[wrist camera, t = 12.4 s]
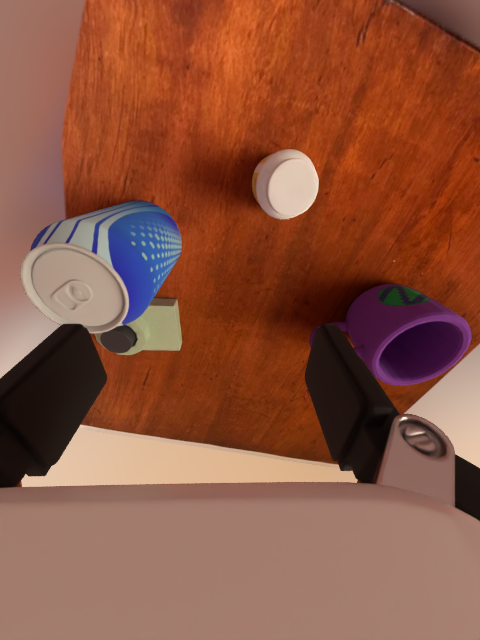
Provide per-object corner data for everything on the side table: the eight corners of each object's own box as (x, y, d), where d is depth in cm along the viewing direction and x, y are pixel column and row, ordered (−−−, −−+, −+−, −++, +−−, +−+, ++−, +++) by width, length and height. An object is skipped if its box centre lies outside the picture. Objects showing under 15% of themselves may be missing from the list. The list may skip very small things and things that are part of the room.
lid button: (110, 345, 33) (104, 353, 32) (102, 322, 31) (96, 329, 30) (138, 345, 33) (134, 353, 32) (132, 323, 31) (127, 330, 30)
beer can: (108, 194, 26) (-25, 217, 13) (183, 204, 27) (133, 236, 13) (120, 265, 30) (31, 338, 17) (184, 272, 31) (146, 347, 18)
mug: (423, 270, 32) (491, 305, 24) (406, 334, 38) (456, 380, 30) (299, 292, 33) (321, 332, 25) (302, 351, 39) (320, 399, 31)
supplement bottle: (270, 141, 24) (289, 126, 16) (308, 174, 25) (343, 176, 17) (241, 191, 26) (246, 200, 18) (278, 218, 28) (297, 237, 20)
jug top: (114, 340, 37) (102, 357, 34) (100, 296, 33) (85, 310, 30) (182, 341, 38) (177, 358, 34) (177, 298, 33) (171, 312, 30)
